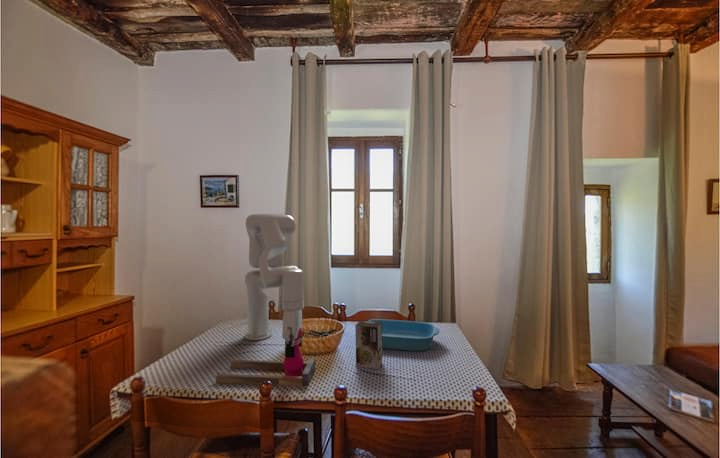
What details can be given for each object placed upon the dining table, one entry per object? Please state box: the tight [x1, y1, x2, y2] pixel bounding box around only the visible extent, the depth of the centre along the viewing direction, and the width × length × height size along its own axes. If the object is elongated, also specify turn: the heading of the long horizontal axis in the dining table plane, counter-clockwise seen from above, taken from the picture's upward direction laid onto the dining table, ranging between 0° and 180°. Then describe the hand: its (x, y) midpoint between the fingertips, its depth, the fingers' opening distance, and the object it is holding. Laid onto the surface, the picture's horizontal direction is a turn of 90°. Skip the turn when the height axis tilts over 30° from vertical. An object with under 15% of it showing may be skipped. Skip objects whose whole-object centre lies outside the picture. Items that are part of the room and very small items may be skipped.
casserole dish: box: [367, 318, 440, 352], centre depth 153 cm, size 37×22×7 cm, turn 75°
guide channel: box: [215, 357, 317, 387], centre depth 121 cm, size 13×32×4 cm, turn 86°
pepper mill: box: [283, 328, 305, 376], centre depth 121 cm, size 7×7×20 cm
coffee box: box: [354, 320, 383, 370], centre depth 130 cm, size 9×6×16 cm
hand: (293, 351), depth 120 cm, fingers open, 9 cm apart
